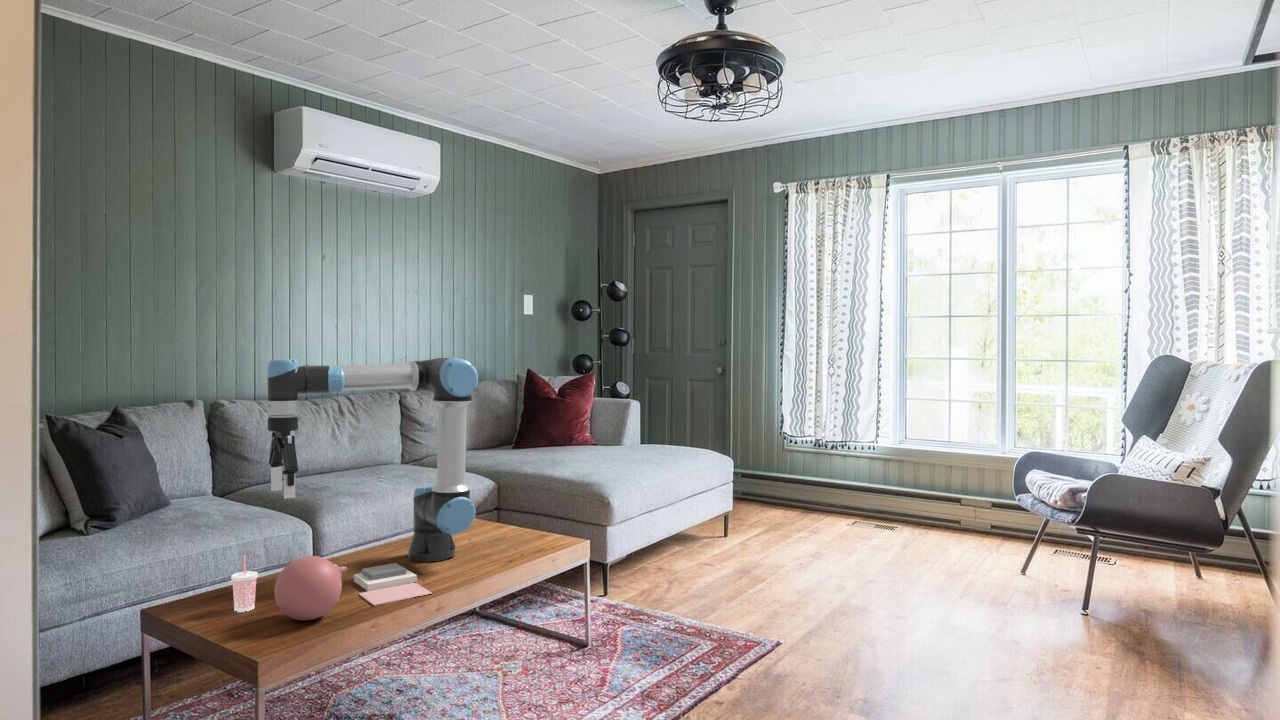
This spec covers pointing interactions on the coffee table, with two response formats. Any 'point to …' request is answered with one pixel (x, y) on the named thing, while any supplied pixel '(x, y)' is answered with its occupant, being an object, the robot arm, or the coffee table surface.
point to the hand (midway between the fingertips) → (282, 494)
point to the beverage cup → (244, 589)
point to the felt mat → (394, 594)
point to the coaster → (383, 571)
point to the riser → (384, 581)
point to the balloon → (308, 587)
